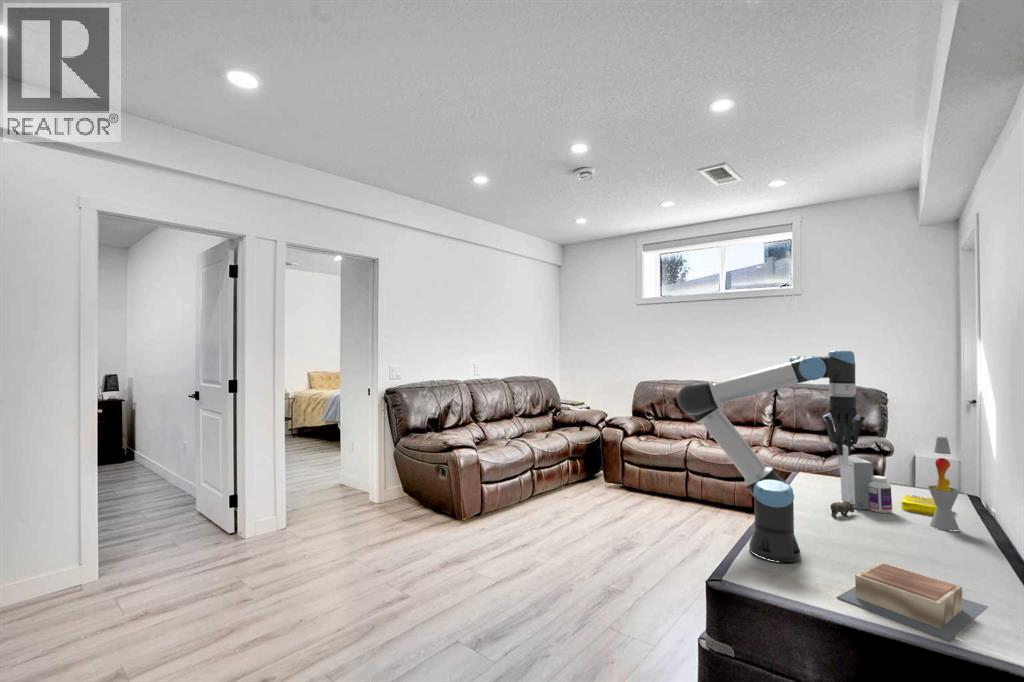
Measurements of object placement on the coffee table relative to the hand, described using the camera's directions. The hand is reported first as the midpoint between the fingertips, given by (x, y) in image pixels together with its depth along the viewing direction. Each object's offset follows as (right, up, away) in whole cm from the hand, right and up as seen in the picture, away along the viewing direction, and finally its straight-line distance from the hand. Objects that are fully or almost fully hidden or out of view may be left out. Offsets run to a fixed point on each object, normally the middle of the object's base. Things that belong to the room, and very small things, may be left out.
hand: (844, 464), depth 166 cm
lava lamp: (+54, -30, +22) cm, 66 cm away
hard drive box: (+41, -31, +51) cm, 72 cm away
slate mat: (-6, -28, -35) cm, 46 cm away
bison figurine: (+25, -31, +36) cm, 54 cm away
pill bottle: (+44, -31, +42) cm, 68 cm away
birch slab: (-1, -25, -32) cm, 40 cm away
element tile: (+65, -31, +43) cm, 84 cm away
